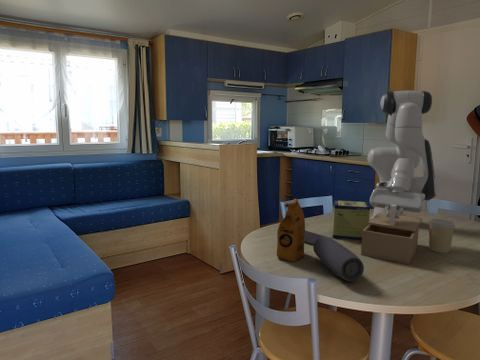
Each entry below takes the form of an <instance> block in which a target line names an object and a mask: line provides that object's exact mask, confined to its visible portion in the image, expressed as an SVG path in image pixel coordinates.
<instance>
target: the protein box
mask: <svg viewBox="0 0 480 360" xmlns="http://www.w3.org/2000/svg"><path fill="white" fill-rule="evenodd" d="M332 208H333V209H332V211H333V212H332V213H333V214H332V227H331V228H332V229H331V234H332V239H339V240H340V239H343V240H355V241H362V231H363V230H364V229H365V228H366V227H367V226H368V225H369V224H368V222H369V221H370V211H371V206H370V205H369V203H368V202H367V201H354V200H353V201H352V200H351V201H350V200H333V207H332Z"/></svg>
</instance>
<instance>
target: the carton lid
mask: <svg viewBox="0 0 480 360" xmlns="http://www.w3.org/2000/svg"><path fill="white" fill-rule="evenodd" d="M396 210H397V205H393V204H392V205H390V214H389V217H386V213H378V214H377V215H376V216H374V217H373V218H372V219H369V222H368V224H369V225H375V226H381V227H388V228H394V229H401V230H407V231H414V232H415V231H416V229H417V228H418V226H419V227H420V224H421V222H422V220H423V218H421V217H414V216H407V215H405V216H401V215H400V217H399V219H397V218H395V213H396Z"/></svg>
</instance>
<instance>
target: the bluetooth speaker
mask: <svg viewBox="0 0 480 360" xmlns="http://www.w3.org/2000/svg"><path fill="white" fill-rule="evenodd" d="M329 237H330V236H326V235H323V236H322V237H320V238H318V239H317V240H316V241H315V243H314V246H312V247H313V252H314V254H315V255H316V256H317V258H318V259H319V260H320V261H321V262H322V263H323V264H324V265H325V266H326V267H327V269H328V270H329V271H330V272H332V273H333V274H334V275H335V276H336V277H338V278H342V279H343V280H345V281H347V282H355V281H357V280H359V279H360V278H361V277H362V275H363V273H364V271H365V266H364V263H363V261H362V259H360V257H358V256H357V255H356V254H355V253H354V252H353V251H351V250H350V249H348V248H347V247H346V246H344V245H343V244H341V243H339V241H336V240H335V239H334V238H332V237H330V238H329ZM331 238H332V239H331Z"/></svg>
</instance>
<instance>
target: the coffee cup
mask: <svg viewBox="0 0 480 360" xmlns="http://www.w3.org/2000/svg"><path fill="white" fill-rule="evenodd" d="M455 226H456V224H455V223H454V222H453V221H451V220H447V219H442V218H441V219H440V218H432V219H430V221H429V232H428V233H429V236H428V237H429V239H428V240H429V241H428V249H429V250H431V251H433V252H437V253H443V254H446V253H449V252H450V250H451V247H452V240H453V236H454V230H455Z"/></svg>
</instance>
